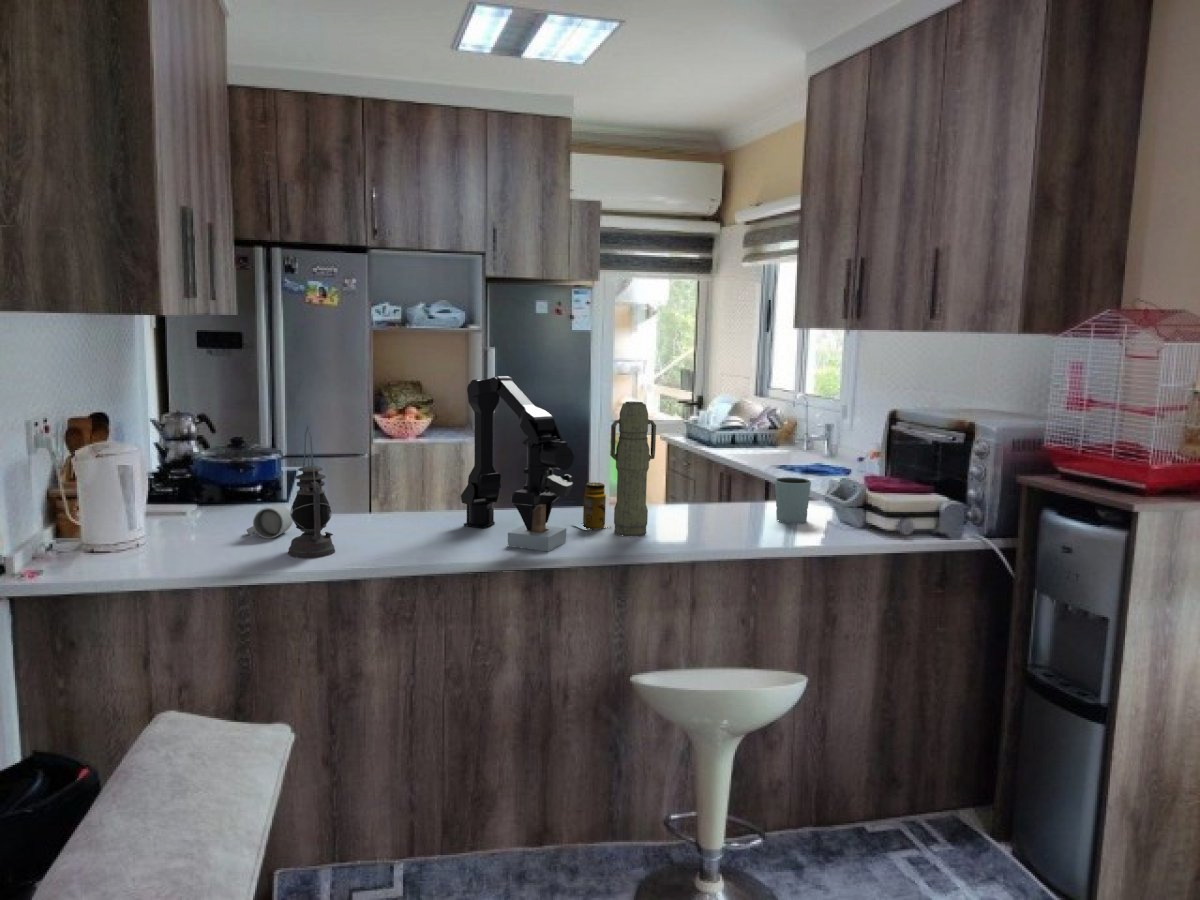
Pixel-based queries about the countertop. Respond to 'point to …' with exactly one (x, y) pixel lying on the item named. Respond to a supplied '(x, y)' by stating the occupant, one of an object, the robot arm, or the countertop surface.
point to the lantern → (311, 513)
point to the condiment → (594, 506)
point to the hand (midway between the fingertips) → (537, 526)
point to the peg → (539, 519)
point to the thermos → (632, 468)
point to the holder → (537, 538)
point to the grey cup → (792, 499)
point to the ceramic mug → (271, 522)
